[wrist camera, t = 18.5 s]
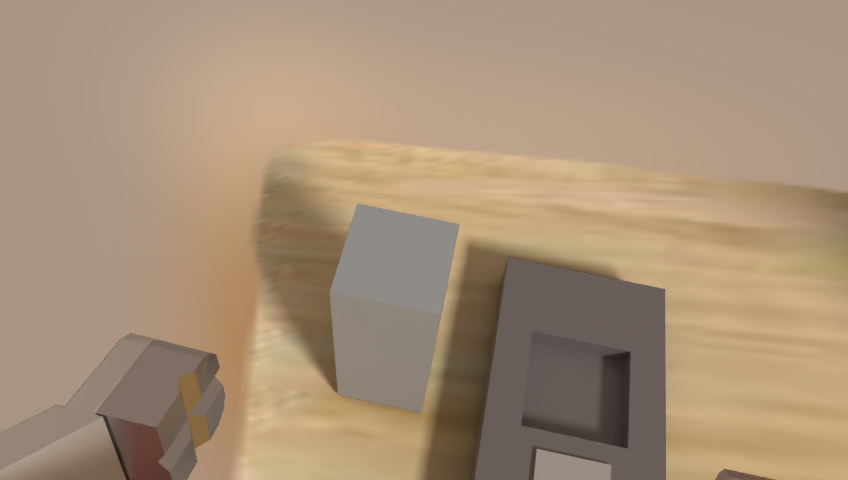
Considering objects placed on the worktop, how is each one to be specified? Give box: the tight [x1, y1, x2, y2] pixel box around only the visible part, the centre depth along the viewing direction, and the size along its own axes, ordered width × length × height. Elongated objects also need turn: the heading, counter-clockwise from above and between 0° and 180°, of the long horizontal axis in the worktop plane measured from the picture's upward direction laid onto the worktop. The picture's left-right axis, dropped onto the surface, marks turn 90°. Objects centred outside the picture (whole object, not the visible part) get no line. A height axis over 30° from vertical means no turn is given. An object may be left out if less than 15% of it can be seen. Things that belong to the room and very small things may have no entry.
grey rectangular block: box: [330, 204, 459, 413], centre depth 33 cm, size 4×4×11 cm
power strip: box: [471, 257, 666, 480], centre depth 34 cm, size 9×22×3 cm, turn 169°
